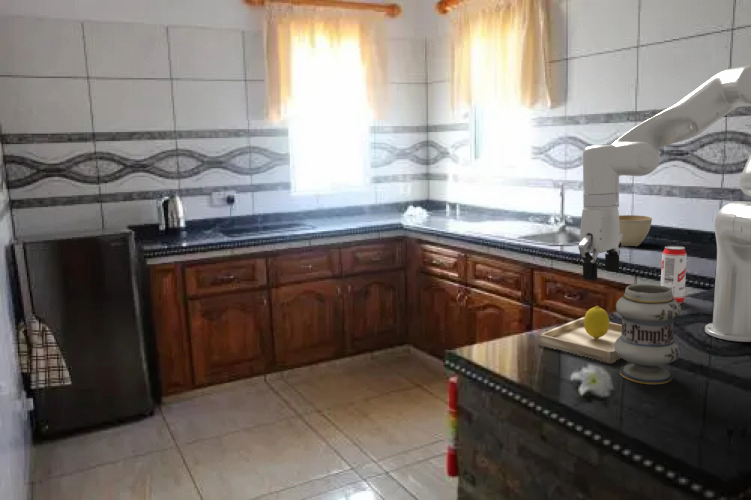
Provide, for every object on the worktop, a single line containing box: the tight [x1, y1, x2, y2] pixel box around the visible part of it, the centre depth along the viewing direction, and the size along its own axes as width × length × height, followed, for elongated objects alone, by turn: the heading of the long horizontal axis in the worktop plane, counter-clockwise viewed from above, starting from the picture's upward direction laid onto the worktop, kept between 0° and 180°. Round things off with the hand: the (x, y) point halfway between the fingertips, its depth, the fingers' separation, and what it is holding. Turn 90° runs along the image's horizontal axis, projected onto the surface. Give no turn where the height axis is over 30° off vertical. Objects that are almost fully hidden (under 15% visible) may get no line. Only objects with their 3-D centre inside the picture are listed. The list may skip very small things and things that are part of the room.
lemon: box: [584, 305, 610, 339], centre depth 143 cm, size 6×6×8 cm
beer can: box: [660, 245, 688, 305], centre depth 176 cm, size 6×6×16 cm
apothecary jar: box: [614, 283, 682, 385], centre depth 123 cm, size 12×12×18 cm
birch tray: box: [537, 316, 622, 364], centre depth 144 cm, size 20×18×2 cm
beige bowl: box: [619, 214, 653, 247], centre depth 268 cm, size 18×18×12 cm
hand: (601, 275), depth 142 cm, fingers open, 9 cm apart
